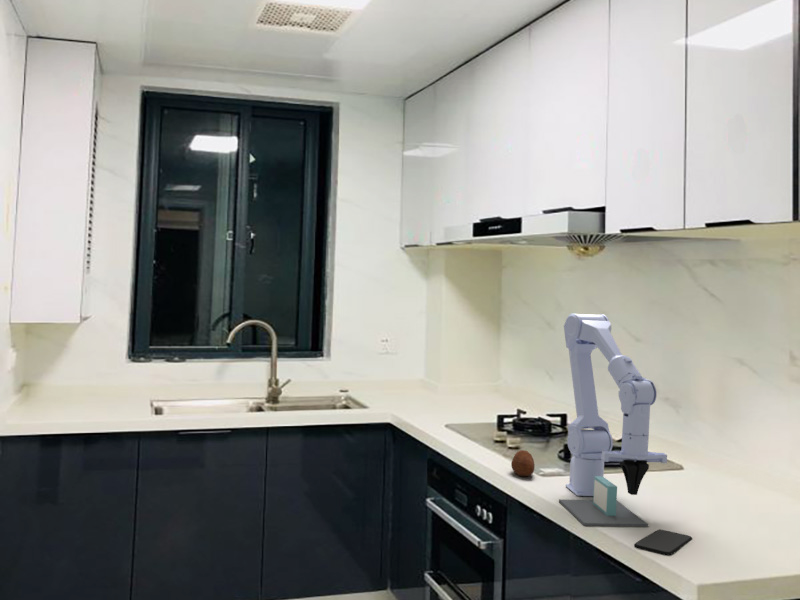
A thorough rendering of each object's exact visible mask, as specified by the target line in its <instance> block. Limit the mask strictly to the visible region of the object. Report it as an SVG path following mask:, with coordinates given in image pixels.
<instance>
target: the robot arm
mask: <svg viewBox="0 0 800 600" xmlns="http://www.w3.org/2000/svg"><path fill="white" fill-rule="evenodd" d="M563 331H564V338H565V339H564V340H565V346H566V348H567V349H568V356H569V363H570V364H569V365H570V372H571V373H570V374H571V381H572V387H573V389H572V390H573V396H574V404H575V412H576V413H575V414H576V418H575V419H574V420H573V421H571V423H570V424H569V425H568V426H567V429H568V435H567V440H566V441H567V447H568V450H569V451H570V453H571V455H572V457H571V459H570V463H569V481H568V482H569V483H566V484H565V487H566V488H567V489H568V490H570V491H571V492H572V493H573V494H574V495H576V496H577V497H582V496H583V497H593V493H594V476H601V477H604V475H605V473H604V470H605V463H609V462H619V463H618V464H619V465H620V467H621V470H622V472H623V475H624V479H625V483H626V488H627V493H628V494H629V495H631V496H637V495H638V494H639V493H638V491H639V489H640V485H641V483H642V481H643V479H644V477H645V475H646V473H647V472H648V470H649V468H650V464H649V463H661V464H667V462H668V454H666V453H665V452H654V451H649V437H650V434H649V433H650V418H651V417H650V416H651V406H653V405H654V404H655V402H656V400H657V388H656V386H655V383H654V381H652V380H650V379H647V378H646V377H644V376H642V374H641V373H640V372H639V370H638V369H637V366H636V365H635V364H634V361H633V359H632V358H631V357H630V356H628V355H623V354H622V352H621V350H620V348H619V346H618V344H617V342H616V340H615V339H614V337H613V335H612V322H610V319H609V318H608V316H607V315H606V314H603V313H600V314H585V313H581V314H580V313H575V312H574V313H573V312H571V313H570V314H569V315H568V316H567V317H566V319H565V323H564V325H563ZM597 348H598V350H599V351H600V352H601V353H602V356H603V357H604V358H605V359H606V360H607V362H608V366H607V371H608V373H610V376H611V377H612V379H613V380H614V382H615V384H616V385H617V388H619V390H618V399H619V402H620V410H621V412H622V431H621V436H622V437H621V450H613V446H614V440H613V436H612V433H611V432H610V428H609V423H608V422H607V421H606V420H605V419H603V418H602V417H601V416H600V415H599V410H598V409H599V407H598V402H597V393H596V386H595V378H594V377H595V376H594V371H593V370H594V369H593V363H592V356H591V354H592V352H593V350H596V349H597Z"/></svg>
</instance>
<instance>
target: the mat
mask: <svg viewBox="0 0 800 600" xmlns="http://www.w3.org/2000/svg"><path fill="white" fill-rule="evenodd" d="M558 503H559V504H560V505H562V507H563V508H565V509H566V511H568V513H569V514H571V515H572V516H573V517H574V518H575V519H576V520H577V521H578V522H579V523H580V524H581V525H582V526H583V527H625V528H627V527H628V528H629V527H630V528H631V527H635V528H639V527H640V528H649V523H648V522H647V521H645V520H644V519H643V518H641V517H640V516H638V515H637V514H636V513H635V512H633V511H631V510H630V509H629V508H628V507H626V506H625V505H624V504H622V503H621V502H620V501H618V500H617V501H616V516H607V515H606V514H604V513H603V512H602V511H601V510H600V509H598V508H597V507H596V506H595V505H594V504H593V499H558Z"/></svg>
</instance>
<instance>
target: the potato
mask: <svg viewBox="0 0 800 600" xmlns="http://www.w3.org/2000/svg"><path fill="white" fill-rule="evenodd" d="M510 467H511V469H512V471H513V472H514V473H515V474H517V476H520V477H529V476H530V477H531V476H532V475H533V474H534V471H535V460H534V458H533V456H532V454H531V452H529V451H527V450H524V449H522V450H518V451H517V452H515V454H514V455H513V458H512V459H511V466H510Z"/></svg>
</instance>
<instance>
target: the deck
mask: <svg viewBox="0 0 800 600" xmlns="http://www.w3.org/2000/svg"><path fill="white" fill-rule="evenodd" d="M592 497H593V498H592V500H593V504H594V505H595V506H596V507H597V508H598V509H600V510H601V511H602V512H603V513H604V514H606V515H607V516H616V501H618V500H617V497H618V486H617V485H615V484H614V483H612V481H610V480H608V479H607V478H606V477H604V476H603V477H601V476H594V493H593V496H592Z"/></svg>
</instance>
